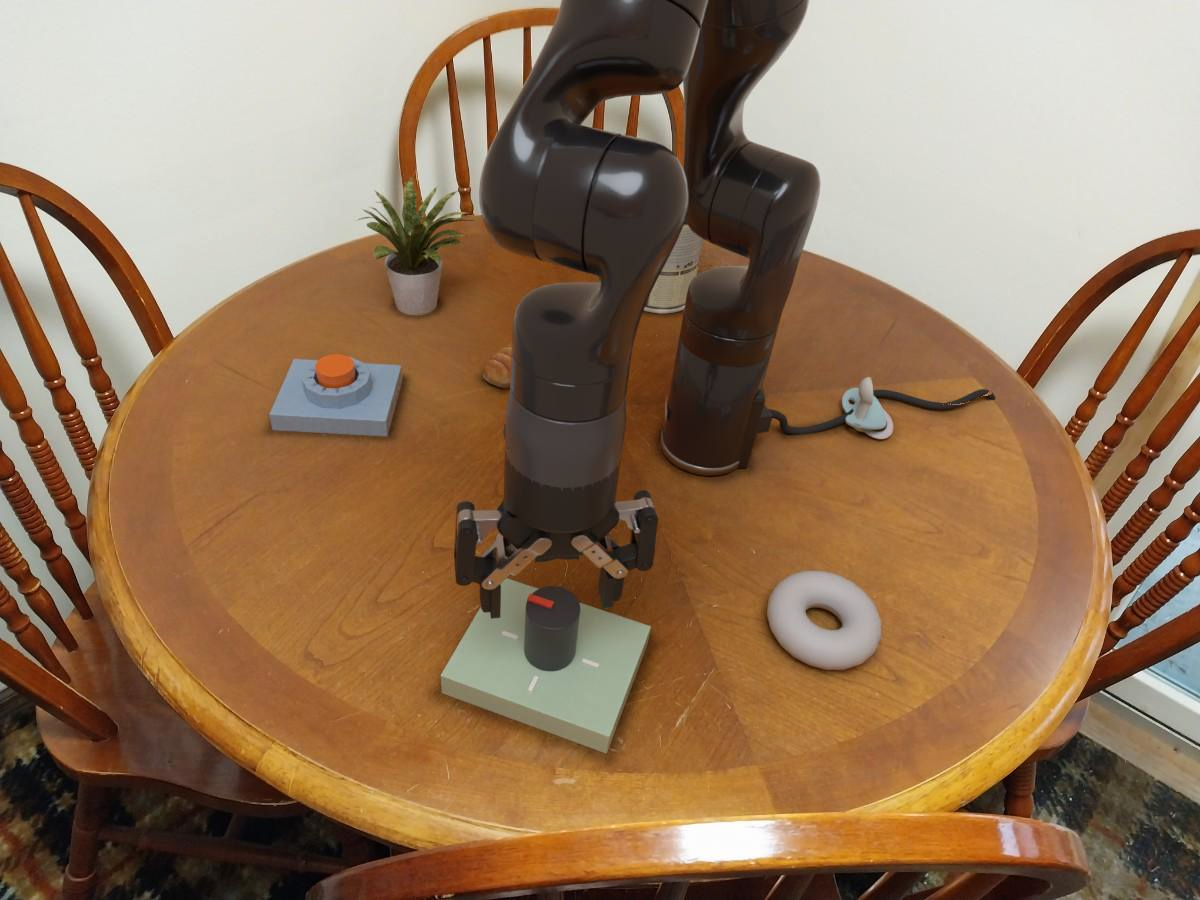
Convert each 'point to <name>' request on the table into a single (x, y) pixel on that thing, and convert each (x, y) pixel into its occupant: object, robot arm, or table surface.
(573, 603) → the program dial
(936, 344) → the table surface
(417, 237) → the house plant
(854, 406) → the pacifier
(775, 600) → the donut
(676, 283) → the coffee can
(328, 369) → the button
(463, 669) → the dial panel
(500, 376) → the pastry
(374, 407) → the button block
